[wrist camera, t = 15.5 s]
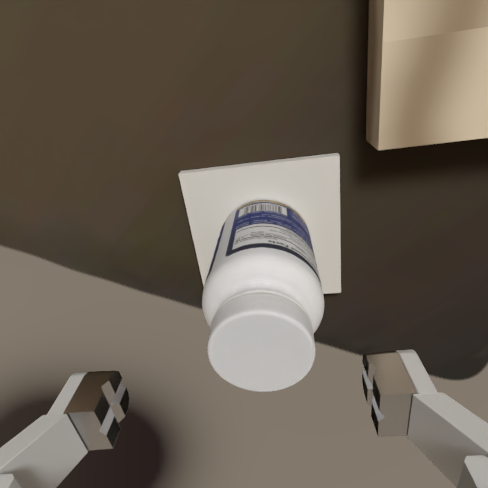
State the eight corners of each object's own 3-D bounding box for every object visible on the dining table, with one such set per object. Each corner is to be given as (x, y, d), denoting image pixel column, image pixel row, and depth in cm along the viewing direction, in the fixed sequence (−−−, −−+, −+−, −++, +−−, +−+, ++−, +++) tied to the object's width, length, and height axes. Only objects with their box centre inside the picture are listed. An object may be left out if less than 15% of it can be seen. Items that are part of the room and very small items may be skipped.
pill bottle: (268, 288, 23) (265, 424, 14) (203, 239, 22) (158, 357, 13) (328, 234, 21) (367, 355, 12) (261, 176, 20) (252, 266, 11)
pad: (208, 296, 24) (207, 301, 24) (180, 171, 20) (178, 173, 20) (339, 287, 23) (340, 292, 23) (337, 152, 19) (339, 155, 19)
